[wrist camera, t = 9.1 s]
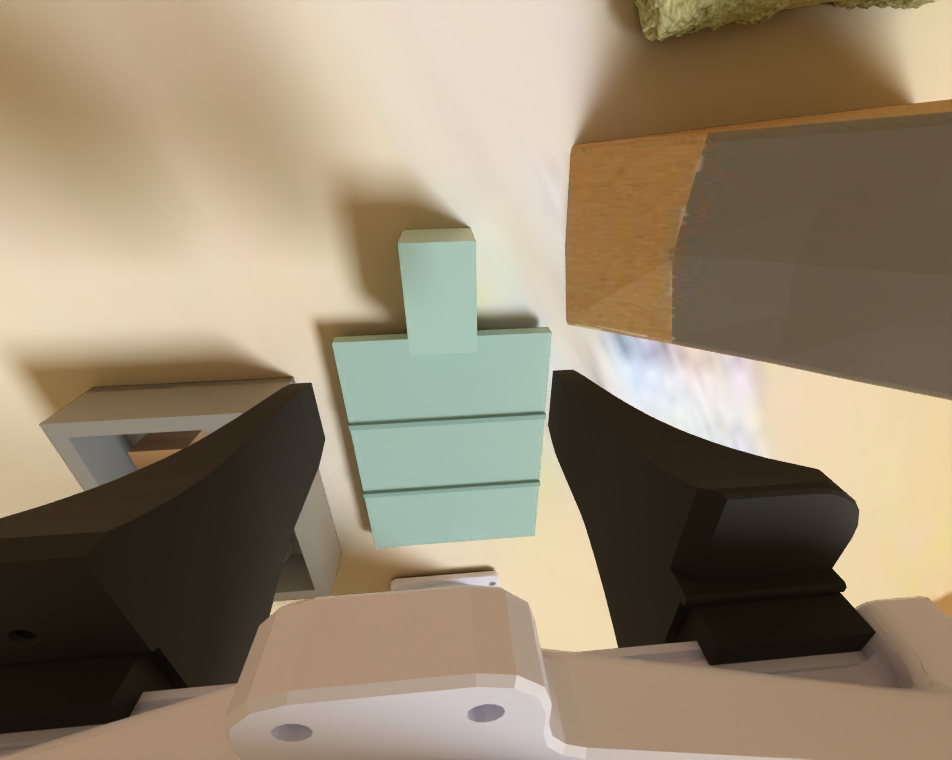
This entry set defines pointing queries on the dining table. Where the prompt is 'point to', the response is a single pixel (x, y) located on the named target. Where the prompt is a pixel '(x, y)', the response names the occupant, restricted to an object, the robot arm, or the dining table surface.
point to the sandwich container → (776, 242)
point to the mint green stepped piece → (445, 407)
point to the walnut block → (162, 446)
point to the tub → (185, 409)
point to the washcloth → (731, 12)
